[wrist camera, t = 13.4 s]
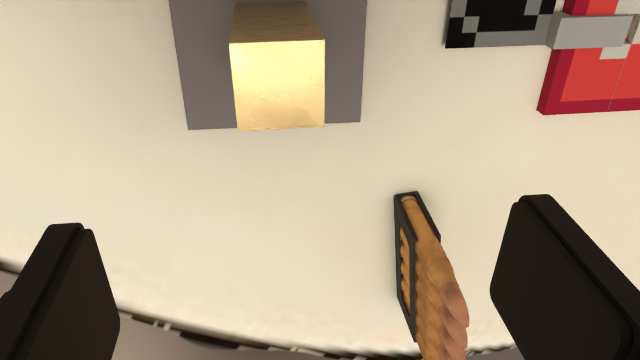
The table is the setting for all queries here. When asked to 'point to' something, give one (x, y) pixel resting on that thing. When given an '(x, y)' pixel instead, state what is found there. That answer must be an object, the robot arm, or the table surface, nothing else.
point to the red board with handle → (563, 47)
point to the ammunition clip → (427, 283)
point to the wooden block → (277, 66)
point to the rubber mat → (215, 64)
